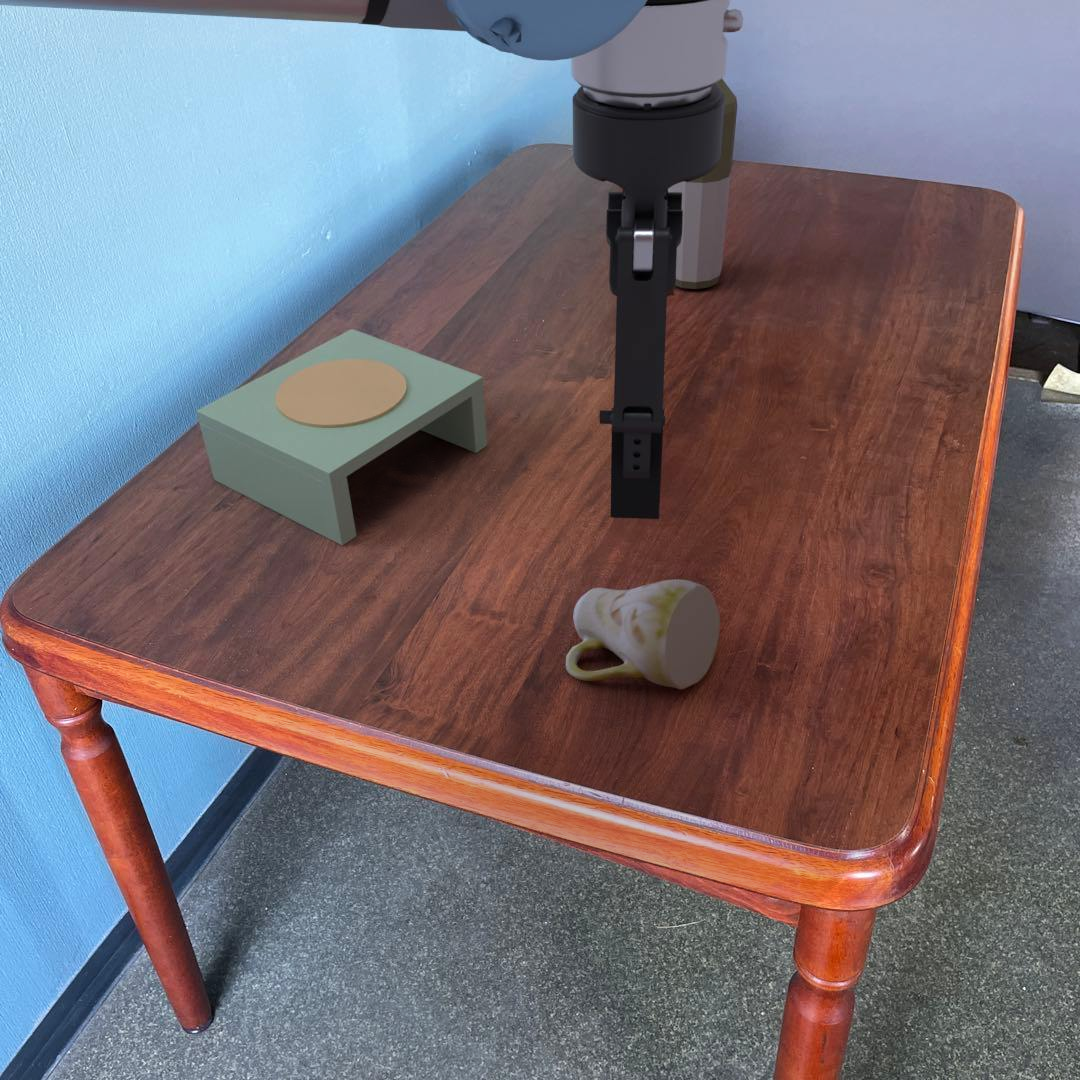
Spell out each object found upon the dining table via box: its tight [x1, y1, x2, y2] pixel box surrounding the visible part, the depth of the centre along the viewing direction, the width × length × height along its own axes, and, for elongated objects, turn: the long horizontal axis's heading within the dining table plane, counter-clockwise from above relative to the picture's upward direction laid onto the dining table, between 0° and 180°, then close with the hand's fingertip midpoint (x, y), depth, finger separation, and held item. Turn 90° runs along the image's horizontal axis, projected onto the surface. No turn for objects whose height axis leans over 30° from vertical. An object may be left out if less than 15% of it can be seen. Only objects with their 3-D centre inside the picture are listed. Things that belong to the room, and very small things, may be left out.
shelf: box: [195, 328, 488, 546], centre depth 93 cm, size 16×18×7 cm
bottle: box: [668, 78, 738, 290], centre depth 113 cm, size 7×7×30 cm
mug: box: [565, 578, 721, 690], centre depth 72 cm, size 8×10×10 cm
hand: (637, 449), depth 66 cm, fingers open, 13 cm apart
